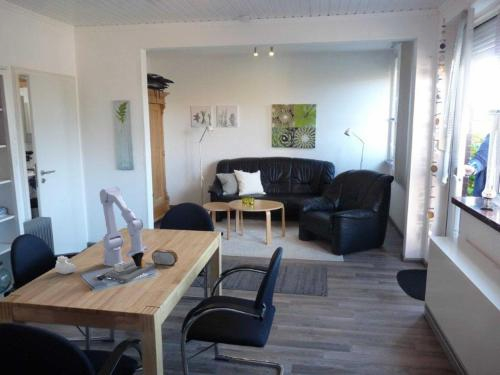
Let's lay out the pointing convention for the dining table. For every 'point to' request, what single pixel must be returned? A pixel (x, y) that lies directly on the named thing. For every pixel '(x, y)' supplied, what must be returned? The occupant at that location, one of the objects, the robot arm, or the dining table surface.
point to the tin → (164, 257)
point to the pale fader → (118, 267)
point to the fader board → (130, 272)
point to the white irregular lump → (64, 266)
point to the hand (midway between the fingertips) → (138, 266)
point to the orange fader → (143, 263)
